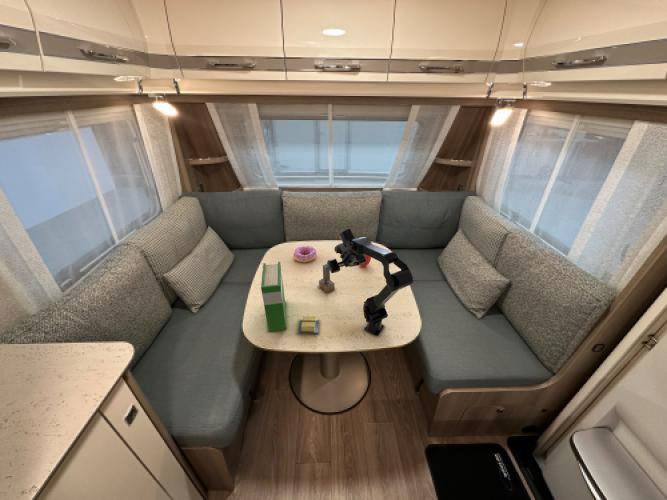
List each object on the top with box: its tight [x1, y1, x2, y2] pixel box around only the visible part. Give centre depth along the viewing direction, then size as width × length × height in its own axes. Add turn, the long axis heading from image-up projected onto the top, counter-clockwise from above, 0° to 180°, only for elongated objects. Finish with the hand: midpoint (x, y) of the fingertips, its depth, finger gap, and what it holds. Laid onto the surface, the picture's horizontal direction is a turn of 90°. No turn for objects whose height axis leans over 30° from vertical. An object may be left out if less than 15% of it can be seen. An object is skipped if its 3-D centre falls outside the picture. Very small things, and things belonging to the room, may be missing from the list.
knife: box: [322, 263, 331, 284], centre depth 138 cm, size 3×2×14 cm
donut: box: [293, 245, 317, 263], centre depth 167 cm, size 14×14×5 cm
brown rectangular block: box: [318, 278, 335, 294], centre depth 140 cm, size 7×5×4 cm
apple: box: [360, 254, 372, 268], centre depth 156 cm, size 9×8×11 cm
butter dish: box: [297, 315, 320, 335], centre depth 117 cm, size 8×7×4 cm
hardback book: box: [260, 261, 287, 332], centre depth 118 cm, size 18×7×24 cm, turn 10°
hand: (341, 268), depth 132 cm, fingers open, 9 cm apart
